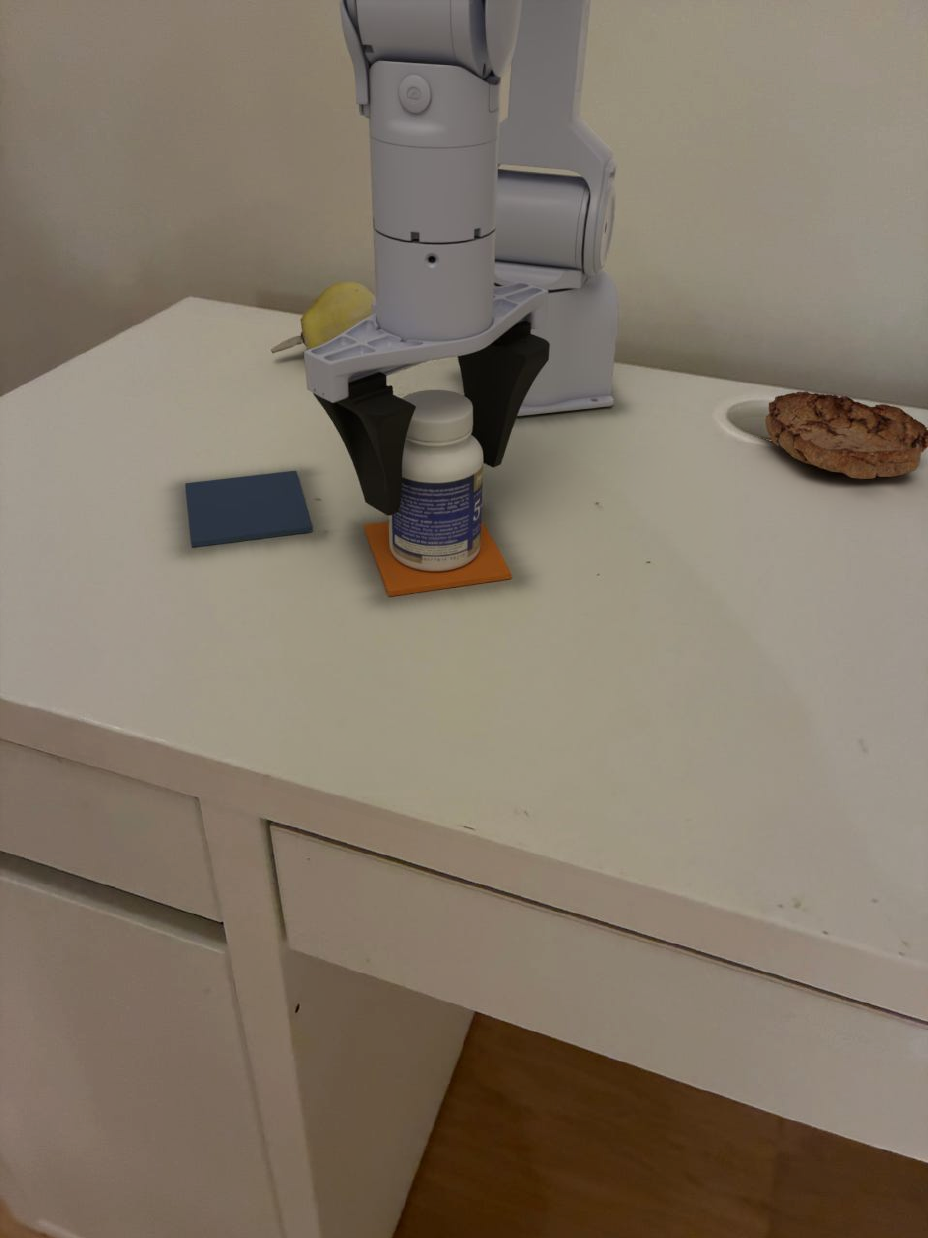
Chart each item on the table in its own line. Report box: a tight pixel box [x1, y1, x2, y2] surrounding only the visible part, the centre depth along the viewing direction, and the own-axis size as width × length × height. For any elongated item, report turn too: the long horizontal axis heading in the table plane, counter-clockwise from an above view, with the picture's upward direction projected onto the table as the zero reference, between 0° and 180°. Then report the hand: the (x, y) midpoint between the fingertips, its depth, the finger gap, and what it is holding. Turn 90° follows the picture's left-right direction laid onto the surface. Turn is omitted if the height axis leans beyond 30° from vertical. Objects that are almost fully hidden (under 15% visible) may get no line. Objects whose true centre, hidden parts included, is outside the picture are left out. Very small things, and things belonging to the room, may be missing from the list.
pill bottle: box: [388, 389, 484, 571], centre depth 54 cm, size 5×5×9 cm
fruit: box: [270, 281, 376, 354], centre depth 78 cm, size 6×6×10 cm
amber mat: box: [363, 519, 512, 597], centre depth 57 cm, size 7×7×1 cm
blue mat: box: [184, 470, 313, 548], centre depth 61 cm, size 7×7×1 cm
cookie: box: [765, 390, 928, 480], centre depth 67 cm, size 10×11×3 cm
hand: (435, 482), depth 54 cm, fingers open, 7 cm apart
